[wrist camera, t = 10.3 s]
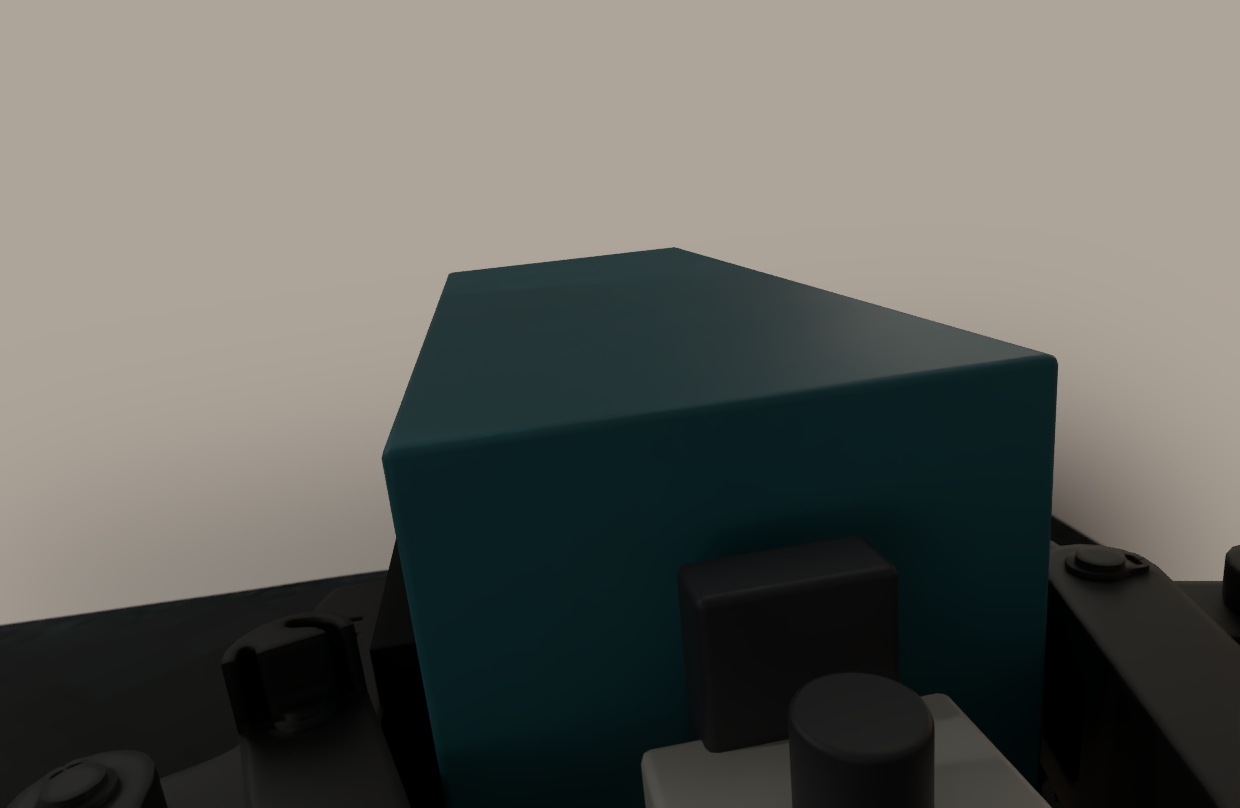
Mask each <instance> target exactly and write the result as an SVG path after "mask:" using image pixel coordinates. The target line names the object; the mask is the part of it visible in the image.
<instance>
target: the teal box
mask: <svg viewBox="0 0 1240 808" xmlns="http://www.w3.org/2000/svg"><path fill="white" fill-rule="evenodd" d="M1057 376H1058V363H1057V360H1056V358H1055V357H1054V356H1053V355H1050V354H1046V353H1043V352H1039V351H1036V350H1032V349H1029V348H1025V347H1022V346H1018V345H1015V344H1011V343H1007V342H1004V341H1001V340H997V339H994V338H990V337H986V336H983V335H980V334H976V333H972V332H969V331H965V330H962V329H959V328H955V327H952V326H948V325H945V324H941V323H938V322H934V321H931V320H927V319H924V318H920V317H917V316H913V315H910V314H906V313H903V312H899V311H896V310H892V309H889V308H885V307H882V306H878V305H875V304H871V303H868V302H864V301H861V300H857V299H854V298H850V297H847V296H843V295H840V294H836V293H833V292H829V291H826V290H822V289H819V288H815V287H811V286H808V285H805V284H801V283H797V282H794V281H791V280H787V279H784V278H780V277H777V276H773V275H770V274H766V273H763V272H759V271H756V270H752V269H749V268H745V267H742V266H738V265H735V264H731V263H728V262H724V261H720V260H717V259H714V258H710V257H707V256H703V255H700V254H696V253H692V252H689V251H685V250H682V249H679V248H675V247H673V248H665V249H656V250H647V251H638V252H630V253H621V254H613V255H603V256H595V257H587V258H578V259H569V260H560V261H551V262H542V263H533V264H525V265H516V266H507V267H498V268H489V269H481V270H472V271H463V272H455V273H451V274H449V275H448V278H447V281H446V284H445V286H444V289H443V292H442V294H441V297H440V300H439V302H438V305H437V308H436V311H435V313H434V316H433V319H432V321H431V324H430V327H429V329H428V332H427V335H426V338H425V340H424V343H423V346H422V348H421V351H420V354H419V357H418V359H417V362H416V364H415V367H414V370H413V373H412V375H411V378H410V381H409V383H408V386H407V389H406V391H405V394H404V397H403V400H402V402H401V405H400V408H399V411H398V413H397V416H396V419H395V421H394V424H393V427H392V429H391V432H390V435H389V437H388V440H387V443H386V446H385V448H384V451H383V455H382V463H383V468H384V474H385V479H386V485H387V490H388V495H389V501H390V506H391V512H392V517H393V522H394V528H395V533H396V539H397V544H398V550H399V555H400V560H401V566H402V571H403V577H404V582H405V587H406V593H407V598H408V604H409V609H410V614H411V620H412V625H413V631H414V636H415V641H416V647H417V652H418V658H419V663H420V668H421V674H422V679H423V685H424V690H425V695H426V701H427V706H428V712H429V717H430V722H431V728H432V733H433V739H434V744H435V750H436V755H437V760H438V766H439V771H440V777H441V782H442V787H443V793H444V798H445V804H446V808H1052V807H1051V806H1050V805H1049V804H1048V803H1047V802H1046V801H1045V800H1044V799H1043V798H1042V796H1041V795H1040V794H1039V778H1040V755H1041V733H1042V711H1043V689H1044V666H1045V644H1046V622H1047V600H1048V577H1049V555H1050V533H1051V511H1052V488H1053V466H1054V444H1055V422H1056V398H1057Z"/></svg>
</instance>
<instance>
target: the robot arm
mask: <svg viewBox="0 0 1240 808" xmlns="http://www.w3.org/2000/svg"><path fill="white" fill-rule="evenodd" d="M221 667H222V671H223V675H224V679H225V683H226V687H227V690H228V694H229V698H230V702H231V706H232V710H233V714H234V718H235V721H236V725H237V729H238V733H239V743H240V745H238V746H237V747H235V748H233V749H231V750H230V751H228V752H226V753H225V754H222V755H220V756H218V757H215V758H213V759H211V760H209V761H206V762H204V763H201V764H199V765H196V766H193V767H191V768H188V769H185V770H183V771H180V772H177V773H175V774H172V775H169V776H167V777H164V778H161V779H159V776H158V772H157V769H156V765H155V763H154V762H153V761H152V760H151V758H150V757H149V756H148V755H147V754H146V753H142V752H137V751H133V750H119V751H110V752H102V753H99V754H96V755H93V756H90V757H86V758H80V759H77V760H74V761H72V762H69V763H67V764H65V766H64V767H61V766H60V767H59V768H57V769H55V770H53V771H51V772H49V773H48V774H46V775H45V776H44V777H43V778H41V779H40V780H38V781H37V782H35V783H34V784H33V785H31V786H30V787H28V788H27V789H26V790H24V791H23V792H21V793H20V794H19V795H18V796H17V797H16V798H15V799H14V800H13V801H12V802H11V804H10V805H9V806H8V807H7V808H446V804H445V798H444V793H443V787H442V782H441V777H440V771H439V766H438V760H437V755H436V750H435V744H434V739H433V733H432V728H431V722H430V717H429V712H428V706H427V701H426V695H425V690H424V685H423V679H422V674H421V668H420V663H419V658H418V652H417V647H416V641H415V636H414V631H413V625H412V620H411V614H410V609H409V604H408V598H407V593H406V587H405V582H404V577H403V571H402V566H401V560H400V555H399V550H398V544H397V539H396V542H395V545H394V550H393V554H392V558H391V562H390V566H389V570H388V574H387V579H383V580H376V581H370V582H364V583H358V584H352V585H345V586H339V587H336V588H335V589H334V590H333V591H332V592H331V593H330V594H329V595H328V596H326V597H325V598H324V599H323V600H322V601H321V602H320V603H319V604H318V605H317V606H316V607H315V610H314V612H305V613H300V614H296V615H291V616H286V617H282V618H280V619H277V620H275V621H272V622H269V623H267V624H264V625H261V626H259V627H257V628H256V629H254V630H252V631H251V632H249V633H247V634H246V635H244V636H242V637H240V638H239V639H238V640H237V641H236V642H235V643H234V644H233V645H232V646H231V647H230V648H229V649H228V650H227V651H226V652H225V654H224V657H223V660H222V663H221ZM1047 779H1049V781H1050V783H1051V785H1052V787H1053V789H1054V791H1055V796H1054V800H1055V802H1060V803H1061V805H1062V807H1063V808H1240V545H1238V546H1235V547H1232V548H1231V549H1230V550H1229V551H1228V552H1227V553H1226V559H1225V567H1224V576H1223V581H1172V580H1171V579H1170V578H1169V577H1168V576H1167V575H1166V574H1165V573H1164V572H1163V571H1162V570H1161V569H1160V568H1159V567H1157V566H1156V565H1155V564H1153V563H1151V562H1150V561H1148V560H1147V559H1145V558H1144V557H1141V556H1139V555H1138V554H1135V553H1131V552H1128V551H1125V550H1121V549H1116V548H1111V547H1106V546H1101V545H1083V544H1076V545H1067V546H1059V545H1057V544H1056V543H1054V542H1053V541H1051V540H1050V555H1049V577H1048V600H1047V622H1046V644H1045V666H1044V689H1043V711H1042V733H1041V755H1040V778H1039V794H1040V795H1041V796H1042V785H1043V784H1044V783H1045V781H1046V780H1047Z"/></svg>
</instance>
